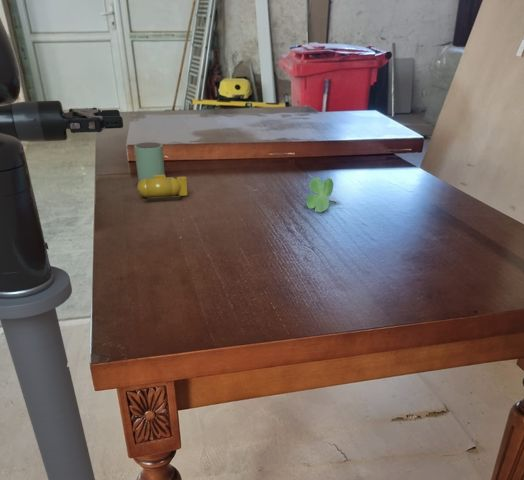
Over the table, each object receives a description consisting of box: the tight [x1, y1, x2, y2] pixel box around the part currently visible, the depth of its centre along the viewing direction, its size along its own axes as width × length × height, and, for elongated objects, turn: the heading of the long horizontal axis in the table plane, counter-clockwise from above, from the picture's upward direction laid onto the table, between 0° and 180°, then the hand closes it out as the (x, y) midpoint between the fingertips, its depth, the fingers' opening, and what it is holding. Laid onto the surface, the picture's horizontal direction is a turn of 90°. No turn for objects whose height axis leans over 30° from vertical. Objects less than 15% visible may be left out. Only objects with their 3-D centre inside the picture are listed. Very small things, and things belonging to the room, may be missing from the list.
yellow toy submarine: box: [136, 174, 188, 202], centre depth 110 cm, size 10×4×5 cm, turn 102°
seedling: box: [305, 176, 337, 213], centre depth 108 cm, size 7×8×6 cm
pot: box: [133, 141, 166, 184], centre depth 118 cm, size 6×6×8 cm
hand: (121, 118), depth 111 cm, fingers open, 8 cm apart
